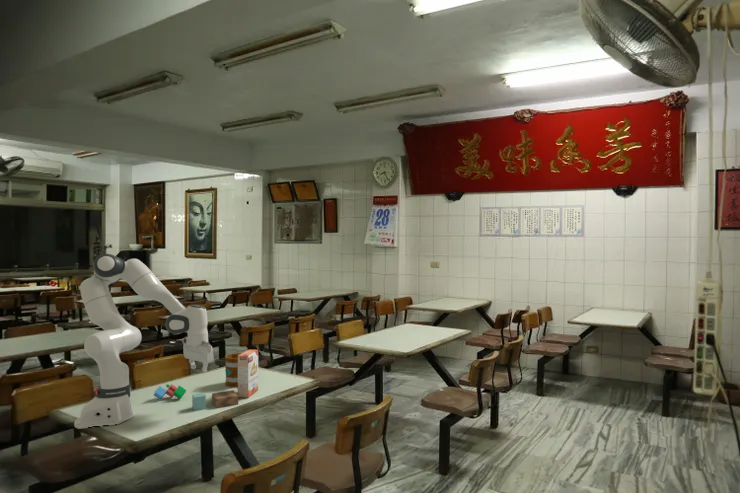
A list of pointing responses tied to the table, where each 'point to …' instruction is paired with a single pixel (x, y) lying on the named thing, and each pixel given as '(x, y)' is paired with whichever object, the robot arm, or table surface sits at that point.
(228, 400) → the walnut base block
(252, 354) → the cracker box
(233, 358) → the mug
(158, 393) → the building blocks
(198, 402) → the teal block
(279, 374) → the table surface
